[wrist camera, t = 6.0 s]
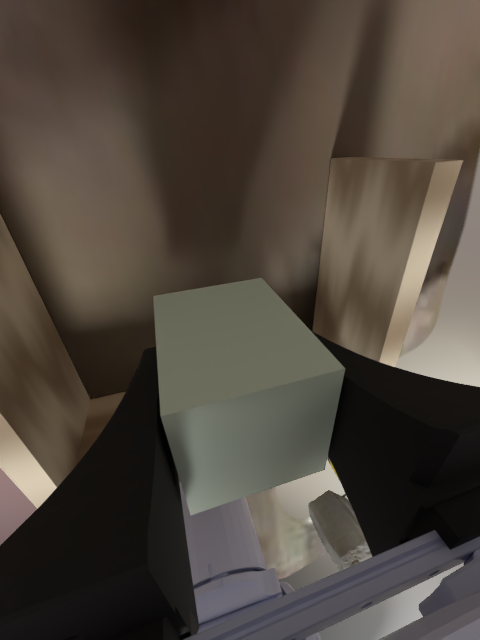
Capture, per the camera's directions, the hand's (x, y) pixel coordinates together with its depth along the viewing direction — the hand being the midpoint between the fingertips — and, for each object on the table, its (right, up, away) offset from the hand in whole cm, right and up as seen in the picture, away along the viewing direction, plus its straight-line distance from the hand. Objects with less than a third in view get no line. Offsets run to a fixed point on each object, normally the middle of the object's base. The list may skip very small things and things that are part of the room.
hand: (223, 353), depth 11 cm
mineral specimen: (+12, -22, +26) cm, 36 cm away
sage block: (0, +1, +1) cm, 2 cm away
